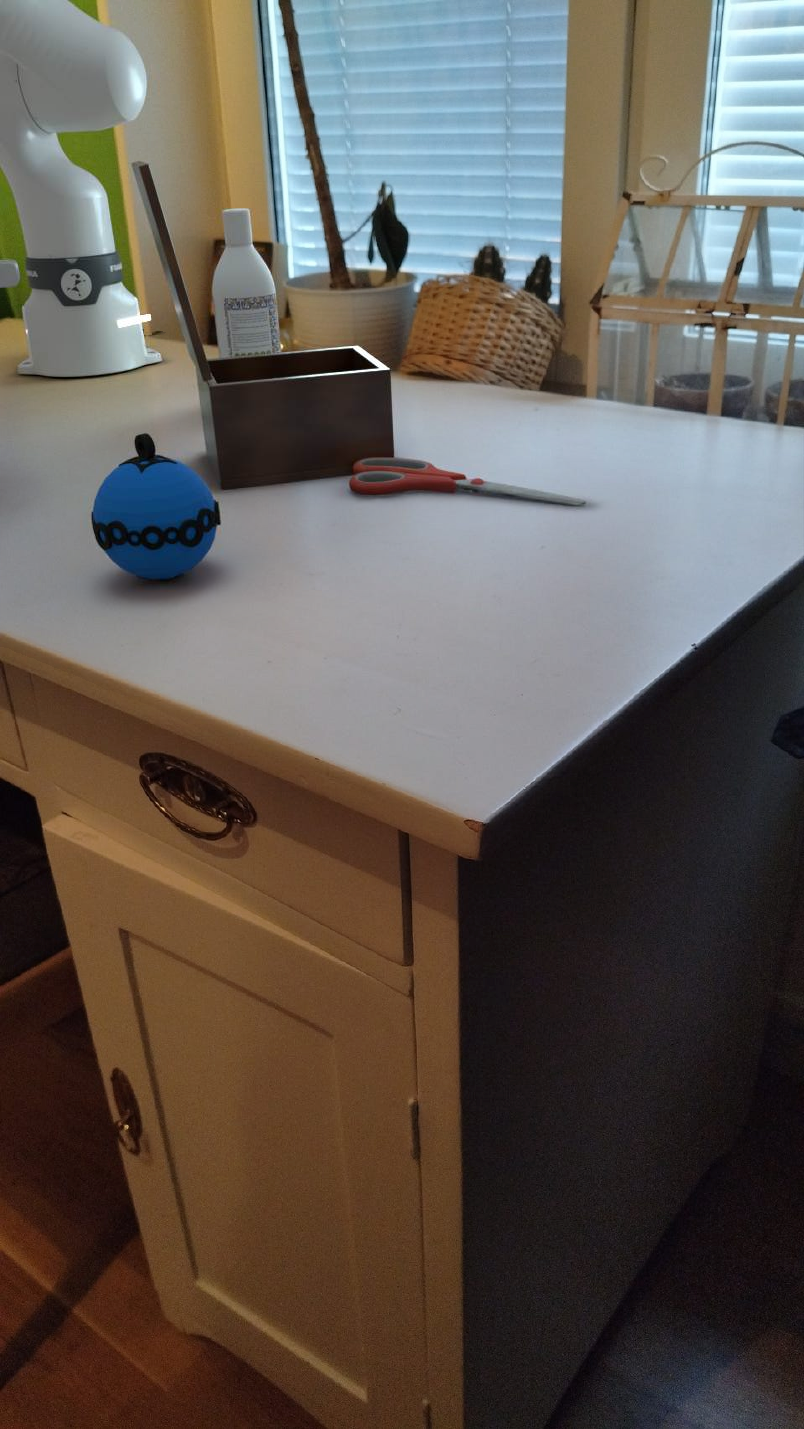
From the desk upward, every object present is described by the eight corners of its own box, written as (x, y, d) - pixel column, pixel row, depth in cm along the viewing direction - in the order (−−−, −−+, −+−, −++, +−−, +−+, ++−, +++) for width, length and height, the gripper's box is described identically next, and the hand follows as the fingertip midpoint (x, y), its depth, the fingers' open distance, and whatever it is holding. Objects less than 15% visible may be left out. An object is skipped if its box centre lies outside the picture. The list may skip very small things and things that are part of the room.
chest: (363, 437, 109) (358, 345, 105) (395, 470, 99) (390, 369, 94) (206, 454, 106) (194, 360, 102) (221, 490, 95) (208, 386, 91)
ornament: (79, 579, 77) (52, 438, 73) (181, 547, 83) (161, 412, 78) (146, 610, 72) (122, 459, 67) (251, 573, 77) (235, 430, 72)
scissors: (584, 507, 87) (585, 489, 86) (334, 496, 92) (332, 479, 92) (596, 479, 93) (597, 462, 93) (361, 471, 99) (360, 454, 98)
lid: (140, 160, 94) (131, 163, 94) (148, 163, 83) (138, 166, 83) (198, 354, 102) (189, 356, 102) (212, 379, 91) (203, 382, 91)
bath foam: (297, 399, 126) (281, 207, 116) (245, 410, 122) (224, 213, 113) (264, 391, 131) (245, 206, 121) (213, 401, 127) (190, 211, 117)
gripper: (-206, 253, 76) (2, 240, 79) (-153, 232, 94) (16, 222, 97) (-179, 348, 79) (20, 332, 82) (-133, 310, 97) (30, 298, 100)
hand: (18, 272), depth 90 cm, fingers closed
